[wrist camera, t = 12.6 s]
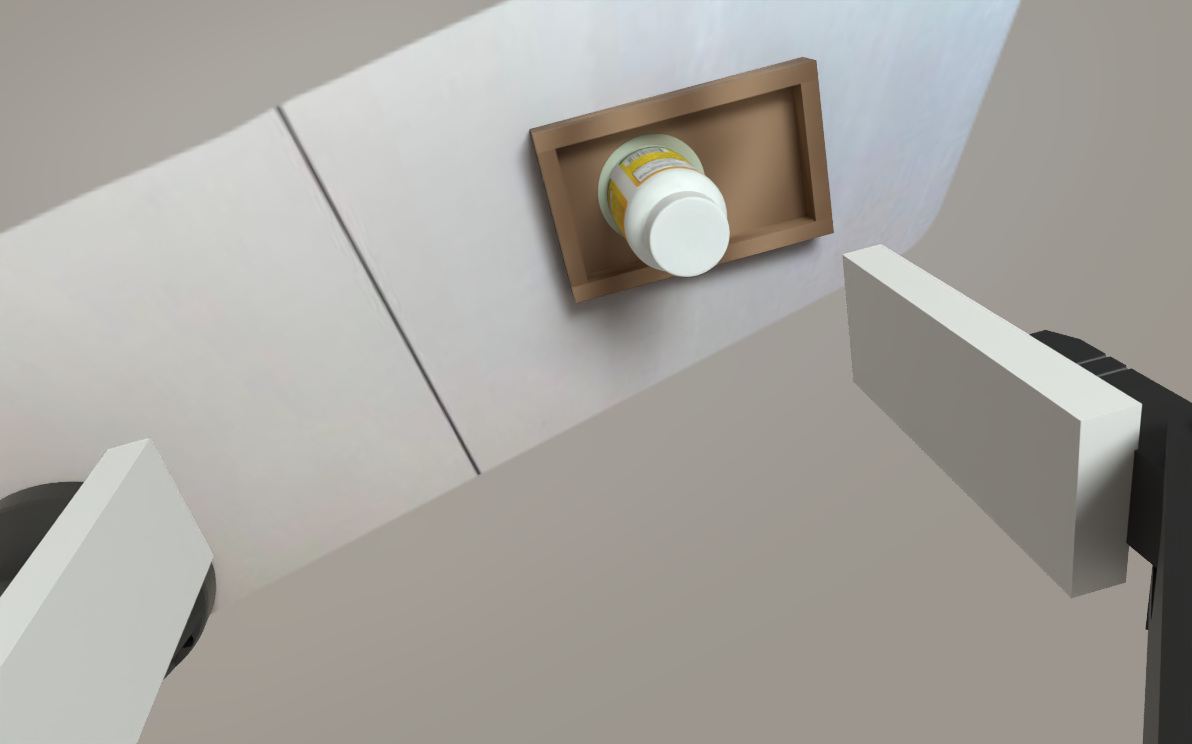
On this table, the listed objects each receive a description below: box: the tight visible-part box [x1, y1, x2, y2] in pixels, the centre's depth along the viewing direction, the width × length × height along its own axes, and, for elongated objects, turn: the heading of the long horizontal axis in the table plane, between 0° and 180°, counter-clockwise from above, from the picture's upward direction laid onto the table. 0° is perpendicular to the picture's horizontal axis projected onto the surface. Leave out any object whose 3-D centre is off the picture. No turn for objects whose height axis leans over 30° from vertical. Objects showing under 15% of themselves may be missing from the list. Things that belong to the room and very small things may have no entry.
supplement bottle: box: [606, 145, 730, 277], centre depth 44 cm, size 5×5×10 cm
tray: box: [530, 57, 834, 303], centre depth 48 cm, size 16×10×2 cm, turn 102°
